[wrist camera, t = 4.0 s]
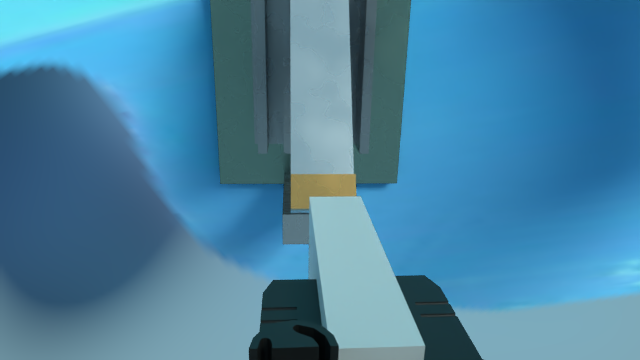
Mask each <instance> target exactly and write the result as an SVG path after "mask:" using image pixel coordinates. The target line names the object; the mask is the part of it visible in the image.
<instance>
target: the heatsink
mask: <svg viewBox="0 0 640 360" xmlns="http://www.w3.org/2000/svg"><path fill="white" fill-rule="evenodd" d="M210 5H211V23H212V41H213V59H214V77H215V95H216V112H217V130H218V148H219V166H220V184H284V193H283V244H309V213H291V72H290V0H210ZM410 6H411V0H349V28H350V61H351V95H352V129H353V162H354V174H356V183H397V174H398V161H399V148H400V135H401V122H402V109H403V97H404V84H405V71H406V58H407V45H408V32H409V19H410Z"/></svg>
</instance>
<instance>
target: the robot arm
mask: <svg viewBox="0 0 640 360" xmlns="http://www.w3.org/2000/svg"><path fill="white" fill-rule="evenodd" d="M249 360H483V359H482V358H481V356H480V355H479V353H478V351H477V350H476V348H475V346H474V344H473V343H472V341H471V339H470V338H469V336H468V334H467V333H466V331H465V329H464V327H463V326H462V324H461V323H460V321H459V319H458V317H457V316H455V312H454V310H453V309H452V307H451V305H450V304H448V300H447V298H446V297H445V295H444V293H443V292H442V290H441V288H440V287H439V286H438V285H436V284H435V283H434V282H432V281H431V280H430V279H428V278H427V277H426V276H424V275H418V276H395V275H394V273H393V270H392V268H391V266H390V263H389V261H388V259H387V256H386V254H385V252H384V249H383V247H382V245H381V242H380V240H379V238H378V236H377V233H376V231H375V229H374V226H373V224H372V222H371V219H370V217H369V215H368V212H367V210H366V208H365V206H364V203H363V201H362V199H361V196H348V197H309V279H302V280H273V281H272V282H271V284H270V285H269V286H268V287H267V289H266V290H265V291H264V292H263V299H262V311H261V324H260V332H259V333H258V334H257V335H256V336H255V337H254V338H253V340H252V342H251V345H250V347H249Z"/></svg>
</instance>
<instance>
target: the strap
mask: <svg viewBox="0 0 640 360" xmlns="http://www.w3.org/2000/svg"><path fill="white" fill-rule="evenodd" d="M290 72H291V213H309V197H348V196H356V174H354V162H353V129H352V95H351V61H350V28H349V0H290Z"/></svg>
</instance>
